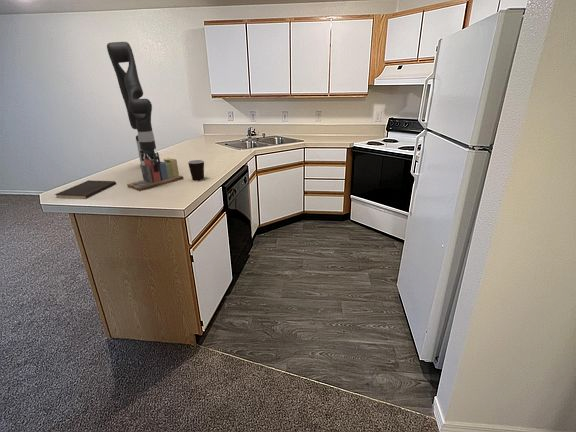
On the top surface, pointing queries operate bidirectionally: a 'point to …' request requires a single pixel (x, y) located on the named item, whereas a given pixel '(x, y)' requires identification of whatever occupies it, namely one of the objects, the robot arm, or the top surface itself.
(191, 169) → the coffee mug
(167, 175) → the shelf
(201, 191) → the top surface
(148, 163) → the book
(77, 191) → the hardcover book
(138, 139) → the robot arm
